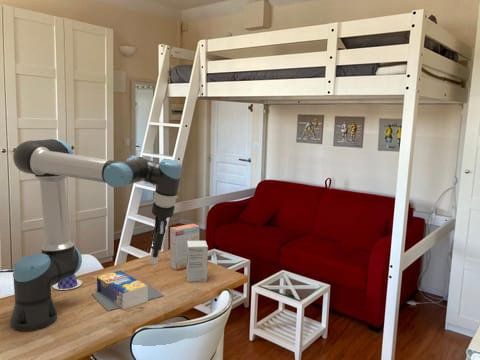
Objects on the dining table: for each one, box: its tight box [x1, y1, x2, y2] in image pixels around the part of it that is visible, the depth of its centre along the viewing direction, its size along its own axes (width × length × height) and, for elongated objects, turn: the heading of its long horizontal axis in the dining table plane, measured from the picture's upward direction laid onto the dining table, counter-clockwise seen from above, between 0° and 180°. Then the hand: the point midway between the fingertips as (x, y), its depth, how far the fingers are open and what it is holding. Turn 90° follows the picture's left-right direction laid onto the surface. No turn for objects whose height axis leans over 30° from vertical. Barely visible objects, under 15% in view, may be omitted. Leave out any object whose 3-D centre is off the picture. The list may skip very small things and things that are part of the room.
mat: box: [91, 281, 165, 312], centre depth 171 cm, size 24×18×1 cm
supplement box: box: [185, 240, 209, 283], centre depth 191 cm, size 10×9×17 cm
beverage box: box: [96, 270, 149, 310], centre depth 169 cm, size 7×11×22 cm
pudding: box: [52, 273, 83, 291], centre depth 179 cm, size 12×12×5 cm
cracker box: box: [169, 223, 200, 271], centre depth 205 cm, size 14×6×21 cm, turn 130°
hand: (153, 263), depth 149 cm, fingers closed
